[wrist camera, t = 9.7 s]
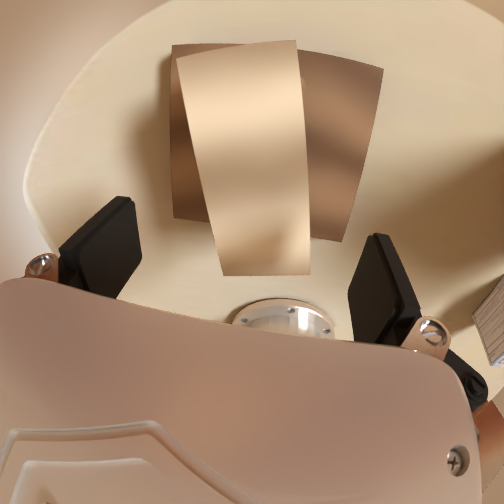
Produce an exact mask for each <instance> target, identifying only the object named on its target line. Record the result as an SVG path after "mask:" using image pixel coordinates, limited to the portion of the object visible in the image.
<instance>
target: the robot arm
mask: <svg viewBox="0 0 504 504" xmlns="http://www.w3.org/2000/svg"><path fill="white" fill-rule="evenodd" d="M59 252H60V255H61V256H60V257H59V258H57V256H56V255H55V254H52V253H46V254H42V255H39V256H37V257H35V258H34V259H33V260H32V261H30V262H29V264H28V265H27V267H26V270H25V276H24V277H21V278H16V279H11V280H7V281H4V282H2V283H1V284H0V504H482V493H483V492H484V490H485V489H486V488H487V487H488V486H489V485H490V483H491V482H492V481H493V479H494V478H495V477H496V475H497V474H498V472H499V471H500V470H501V469H502V467H503V466H504V418H503V416H502V414H501V413H500V411H499V410H498V408H497V407H496V405H495V404H494V402H493V401H492V399H491V400H490V401H489V402H488V400H487V397H488V387H487V384H486V382H485V380H484V378H483V377H482V376H481V375H480V374H479V373H478V372H477V371H475V370H474V369H473V368H472V367H471V366H469V365H468V364H467V363H466V362H465V361H463V360H462V359H461V358H460V357H459V356H457V355H456V354H455V353H454V352H453V351H451V350H450V349H449V346H450V342H451V337H450V333H449V331H448V329H447V328H446V327H445V325H444V324H443V323H442V322H440V321H439V320H437V319H435V318H433V317H429V316H424V317H422V315H421V312H420V309H421V308H420V306H419V303H418V301H417V298H416V295H415V293H414V291H413V288H412V286H411V283H410V281H409V279H408V276H407V274H406V272H405V269H404V267H403V265H402V263H401V260H400V258H399V256H398V254H397V252H396V250H395V247H394V245H393V243H392V241H391V239H390V237H389V236H388V235H385V234H380V233H374V234H373V235H372V236H371V235H369V236H368V238H367V241H366V243H365V246H364V249H363V252H362V255H361V257H360V260H359V263H358V265H357V268H356V271H355V273H354V276H353V278H352V281H351V283H350V286H349V289H348V301H349V308H350V314H351V321H352V328H353V335H354V341H346V340H336V339H335V332H334V325H333V323H332V321H331V319H330V318H329V317H328V315H327V314H326V313H324V312H323V311H322V310H320V309H319V308H317V307H315V306H313V305H311V304H308V303H305V302H301V301H296V300H290V299H271V300H264V301H260V302H256V303H254V304H251V305H248V306H247V307H245V308H244V309H242V310H241V311H240V312H239V313H238V314H237V315H236V316H235V318H234V319H233V322H232V324H226V323H221V322H216V321H210V320H205V319H200V318H195V317H190V316H186V315H181V314H176V313H172V312H167V311H163V310H158V309H154V308H150V307H145V306H141V305H137V304H133V303H129V302H125V301H121V300H117V299H116V298H117V296H118V295H119V293H120V292H121V290H122V289H123V287H124V286H125V284H126V283H127V281H128V280H129V278H130V277H131V275H132V274H133V272H134V271H135V269H136V268H137V267H138V265H139V264H140V262H141V259H142V252H141V246H140V240H139V233H138V226H137V218H136V210H135V203H134V201H132V200H131V198H130V197H123V196H116V197H115V198H114V199H113V200H111V201H110V202H109V203H108V204H107V205H105V206H104V207H103V208H102V209H101V210H100V211H98V212H97V213H96V214H95V215H94V216H93V217H92V218H91V219H89V220H88V221H87V222H86V223H85V224H84V225H83V226H82V227H81V228H80V229H78V230H77V231H76V232H75V233H74V234H73V235H72V236H71V237H70V238H69V239H68V240H67V241H66V242H65V243H64V244H63V245H62V246H61V247H60V248H59Z"/></svg>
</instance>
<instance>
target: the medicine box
mask: <svg viewBox="0 0 504 504" xmlns="http://www.w3.org/2000/svg"><path fill="white" fill-rule="evenodd" d="M472 318H473V321H474V323H475V325H476V328H477V330H478V333H479V335H480V338H481V341H482V343H483V346H484V349H485V352H486V355H487V358H488V361H489V364H490V366H498V367H502V366H504V276H503V278H502V279H501V281H500V282H499V283H498V284H497V286H496V287H495V288H494V290H493V291H492V292H491V293H490V295H489V296H488V297H487V298H486V300H485V301H484V302H483V303H482V304H481V306H480V307H479V308H478V309H477V310H476V311H475V313H474V314H473V315H472Z"/></svg>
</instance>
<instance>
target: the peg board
mask: <svg viewBox="0 0 504 504" xmlns="http://www.w3.org/2000/svg"><path fill="white" fill-rule="evenodd" d="M239 45H246V44H184V45H172V55H171V80H170V152H171V178H172V197H173V212H174V218H179V219H187V220H194V221H202V222H209V223H210V219H209V215H208V210H207V206H206V202H205V198H204V193H203V189H202V184H201V180H200V176H199V171H198V166H197V162H196V157H195V153H194V148H193V143H192V139H191V134H190V129H189V124H188V119H187V114H186V109H185V104H184V99H183V94H182V88H181V83H180V78H179V72H178V67H177V61H176V58H180V57H184V56H188V55H192V54H196V53H201V52H206V51H210V50H216V49H221V48H227V47H233V46H239ZM297 54H298V62H299V71H300V80H301V89H302V99H303V110H304V122H305V135H306V149H307V166H308V187H309V215H310V237H312V238H318V239H325V240H331V241H337V242H342V239H343V236H344V233H345V230H346V227H347V223H348V220H349V217H350V213H351V210H352V207H353V203H354V200H355V196H356V193H357V189H358V185H359V182H360V178H361V174H362V170H363V166H364V162H365V158H366V154H367V150H368V146H369V142H370V137H371V133H372V129H373V124H374V119H375V114H376V110H377V104H378V99H379V94H380V89H381V83H382V77H383V71H384V69H382V68H379V67H376V66H372V65H369V64H365V63H361V62H357V61H354V60H349V59H345V58H341V57H336V56H332V55H327V54H322V53H316V52H311V51H304V50H298V49H297Z"/></svg>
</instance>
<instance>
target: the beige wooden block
mask: <svg viewBox="0 0 504 504" xmlns="http://www.w3.org/2000/svg"><path fill="white" fill-rule="evenodd" d="M176 61H177V67H178V72H179V78H180V83H181V88H182V94H183V99H184V104H185V109H186V114H187V119H188V124H189V129H190V134H191V139H192V143H193V148H194V153H195V157H196V162H197V166H198V171H199V176H200V180H201V184H202V189H203V193H204V198H205V202H206V206H207V210H208V215H209V219H210V223H211V227H212V231H213V236H214V240H215V244H216V248H217V252H218V256H219V260H220V264H221V268H222V272H223V275H224V276H278V275H310V215H309V187H308V166H307V149H306V135H305V122H304V110H303V99H302V89H301V80H300V71H299V62H298V54H297V46H296V40H286V41H273V42H263V43H254V44H246V45H239V46H233V47H227V48H221V49H216V50H210V51H206V52H201V53H196V54H192V55H188V56H184V57H180V58H176Z"/></svg>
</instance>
